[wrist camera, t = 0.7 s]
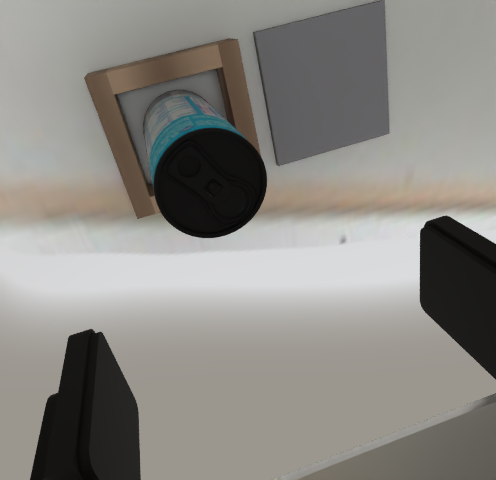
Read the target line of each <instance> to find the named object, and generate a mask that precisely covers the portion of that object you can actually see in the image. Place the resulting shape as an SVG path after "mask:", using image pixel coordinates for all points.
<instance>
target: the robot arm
mask: <svg viewBox="0 0 496 480" xmlns="http://www.w3.org/2000/svg"><path fill="white" fill-rule="evenodd" d="M420 303H421V306H422V308H423V310H424V311H425V312H426V313H427V314H428V315H429V316H430V317H431V318H432V319H433V320H434V321H435V322H436V323H437V324H438V325H439V326H440V327H441V328H442V329H443V330H445V331H446V332H447V333H448V334H449V335H450V336H451V337H452V338H453V339H454V340H455V341H456V342H457V343H458V344H459V345H460V346H461V347H462V348H463V349H465V350H466V352H468V353H469V354H470V355H471V356H472V357H473V358H474V359H475V360H476V361H477V362H478V363H479V364H480V365H481V366H482V367H483V368H485V370H486V371H488V373H490V374H491V375H492V376H493V377H494V378H495V379H496V244H495V243H493V242H491V241H489V240H488V239H486V238H485V237H483V236H481V235H479V234H478V233H476V232H474V231H473V230H471V229H469V228H468V227H466V226H464V225H463V224H461V223H459V222H457V221H456V220H454V219H452V218H451V217H449V216H442V217H439V218H436V219H433V220H430V221H427V222H426V223H425V225H424V228H422V229H421V231H420ZM30 480H141V479H140V449H139V418H138V407H137V403H136V400H135V398H134V396H133V394H132V392H131V390H130V387H129V385H128V384H127V381H126V380H125V378H124V375H123V373H122V372H121V369H120V367H119V365H118V363H117V361H116V359H115V357H114V355H113V353H112V351H111V349H110V347H109V345H108V343H107V341H106V339H105V337H104V335H103V333H102V332H98V333H95V332H94V331H93V330H92V329H89V330H86V331H83V332H80V333H77V334H74V335H70V336H69V338H68V343H67V348H66V354H65V359H64V364H63V370H62V376H61V380H60V386H59V391H58V393H56V394H53V395H51V396H50V397H49V398H48V400H47V403H46V407H45V412H44V416H43V421H42V426H41V431H40V435H39V440H38V445H37V450H36V455H35V459H34V464H33V469H32V473H31V478H30ZM273 480H496V393H495V394H493V395H490V396H488V397H485V398H482V399H480V400H477V401H474V402H472V403H469V404H467V405H464V406H461V407H459V408H456V409H453V410H451V411H449V412H445V413H443V414H440V415H438V416H435V417H433V418H430V419H427V420H425V421H422V422H419V423H417V424H414V425H412V426H409V427H406V428H404V429H401V430H399V431H396V432H394V433H391V434H388V435H386V436H384V437H381V438H378V439H375V440H373V441H371V442H368V443H365V444H363V445H360V446H358V447H355V448H352V449H350V450H347V451H345V452H342V453H339V454H337V455H334V456H332V457H329V458H326V459H324V460H321V461H319V462H316V463H314V464H311V465H309V466H307V467H304V468H301V469H299V470H296V471H293V472H291V473H288V474H286V475H283V476H281V477H278V478H276V479H273Z"/></svg>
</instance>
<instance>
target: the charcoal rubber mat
mask: <svg viewBox="0 0 496 480" xmlns="http://www.w3.org/2000/svg"><path fill="white" fill-rule="evenodd" d="M253 33H254V39H255V45H256V50H257V56H258V61H259V67H260V73H261V78H262V84H263V89H264V95H265V101H266V106H267V112H268V117H269V123H270V128H271V134H272V140H273V145H274V151H275V156H276V162H277V165H278V166H280V165H283V164H287V163H290V162H294V161H297V160H300V159H304V158H307V157H311V156H314V155H317V154H321V153H324V152H328V151H331V150H335V149H338V148H341V147H345V146H348V145H352V144H355V143H358V142H362V141H365V140H369V139H372V138H376V137H379V136H382V135H386V134H389V108H388V81H387V54H386V27H385V0H381V1H377V2H373V3H369V4H365V5H361V6H357V7H353V8H349V9H345V10H341V11H337V12H333V13H329V14H325V15H321V16H317V17H313V18H309V19H305V20H301V21H297V22H293V23H289V24H285V25H281V26H277V27H273V28H269V29H265V30H261V31H257V32H253Z"/></svg>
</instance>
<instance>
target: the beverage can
mask: <svg viewBox="0 0 496 480" xmlns="http://www.w3.org/2000/svg"><path fill="white" fill-rule="evenodd" d="M143 126H144V136H145V142H146V149H147V155H148V161H149V167H150V173H151V179H152V184H153V189H154V195H155V200H156V203H157V206H158V208H159V210H160V212H161V213H162V215H163V216H164V218H165V219H166V220H167V221H168V222H169V223H170V224H171V225H172V226H174V227H175V228H176V229H178V230H179V231H181V232H183V233H185V234H188V235H191V236H195V237H200V238H215V237H221V236H225V235H228V234H230V233H233V232H235V231H237V230H238V229H240V228H241V227H243V226H244V225H245V224H247V223H248V222H249V221H250V220H251V219H252V218H253V217H254V215H255V214H256V213H257V211H258V210H259V208H260V206H261V204H262V202H263V199H264V196H265V193H266V187H267V174H266V169H265V165H264V162H263V160H262V158H261V156H260V154H259V153H258V151H257V150H256V149H255V147H254V146H253V145H252V144H251V143H250V142H249V141H248V140H247V139H246V138H245V137H244V136H243V135H242V134H241V133H240V132H239V131H238V130H236V129H235V128H234V127H233V126H232V125H231V124H230V123H229V122H228V121H227V120H226V119H225V118H224V117H223V116H222V115H220V114H219V113H218V112H217V111H216V110H215V109H214V108H213V107H212V106H211V105H210V104H208V103H207V101H206V100H204V99H203V98H202V97H200V96H199V95H197V94H195V93H193V92H189V91H184V90H175V91H171V92H167V93H165V94H163V95H161V96H159V97H158V98H157V99H156V100H154V101H153V103H152V104H151V105H150V107H149V108H148V110H147V112H146V115H145V118H144V124H143Z"/></svg>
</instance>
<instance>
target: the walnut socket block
mask: <svg viewBox="0 0 496 480" xmlns="http://www.w3.org/2000/svg"><path fill="white" fill-rule="evenodd" d="M212 69H216V70H217V75H218V79H219V83H220V88H221V92H222V96H223V101H224V105H225V110H226V114H227V118H228V122H229V123H230V124H231V125H232V126H233V127H234V128H235V129H236V130H238V131H239V132H240V133H241V134H242V135H243V136H244V137H245V138H246V139H247V140H248V141H249V142H250V143H251V144H252V145H253V146H254V147H255V149H256V150H257V151H258V153H259V154H260V150H259V145H258V140H257V135H256V129H255V124H254V119H253V114H252V109H251V104H250V99H249V94H248V89H247V84H246V79H245V74H244V69H243V64H242V58H241V53H240V48H239V43H238V39H225V40H221V41H217V42H213V43H209V44H205V45H201V46H197V47H193V48H188V49H184V50H180V51H176V52H172V53H168V54H164V55H160V56H156V57H152V58H148V59H144V60H140V61H136V62H132V63H128V64H124V65H120V66H116V67H112V68H108V69H104V70H100V71H96V72H92V73H88V74H87V75H86V76H85V78H84V79H85V81H86V84H87V86H88V89H89V92H90V94H91V97H92V100H93V102H94V105H95V108H96V110H97V113H98V116H99V118H100V121H101V123H102V126H103V129H104V131H105V134H106V137H107V139H108V142H109V145H110V147H111V150H112V153H113V155H114V158H115V160H116V163H117V166H118V168H119V171H120V174H121V176H122V179H123V182H124V184H125V187H126V189H127V192H128V195H129V197H130V200H131V203H132V205H133V208H134V211H135V213H136V216H137V219H139V218H142V217H146V216H149V215H152V214H156V213H159V212H160V210H159V208H158V206H157V203H156V200H155V195H154V189H153V184H149V185H148V183H147V180H146V177H145V174H144V171H143V168H142V166H141V163H140V160H139V157H138V154H137V151H136V148H135V146H134V143H133V140H132V137H131V134H130V131H129V128H128V125H127V123H126V120H125V117H124V114H123V111H122V108H121V105H120V102H119V100H118V97H117V94H119V93H123V92H126V91H130V90H134V89H138V88H142V87H146V86H150V85H154V84H158V83H161V82H165V81H169V80H173V79H177V78H181V77H185V76H189V75H193V74H196V73H200V72H204V71H208V70H212ZM260 156H261V155H260Z"/></svg>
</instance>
